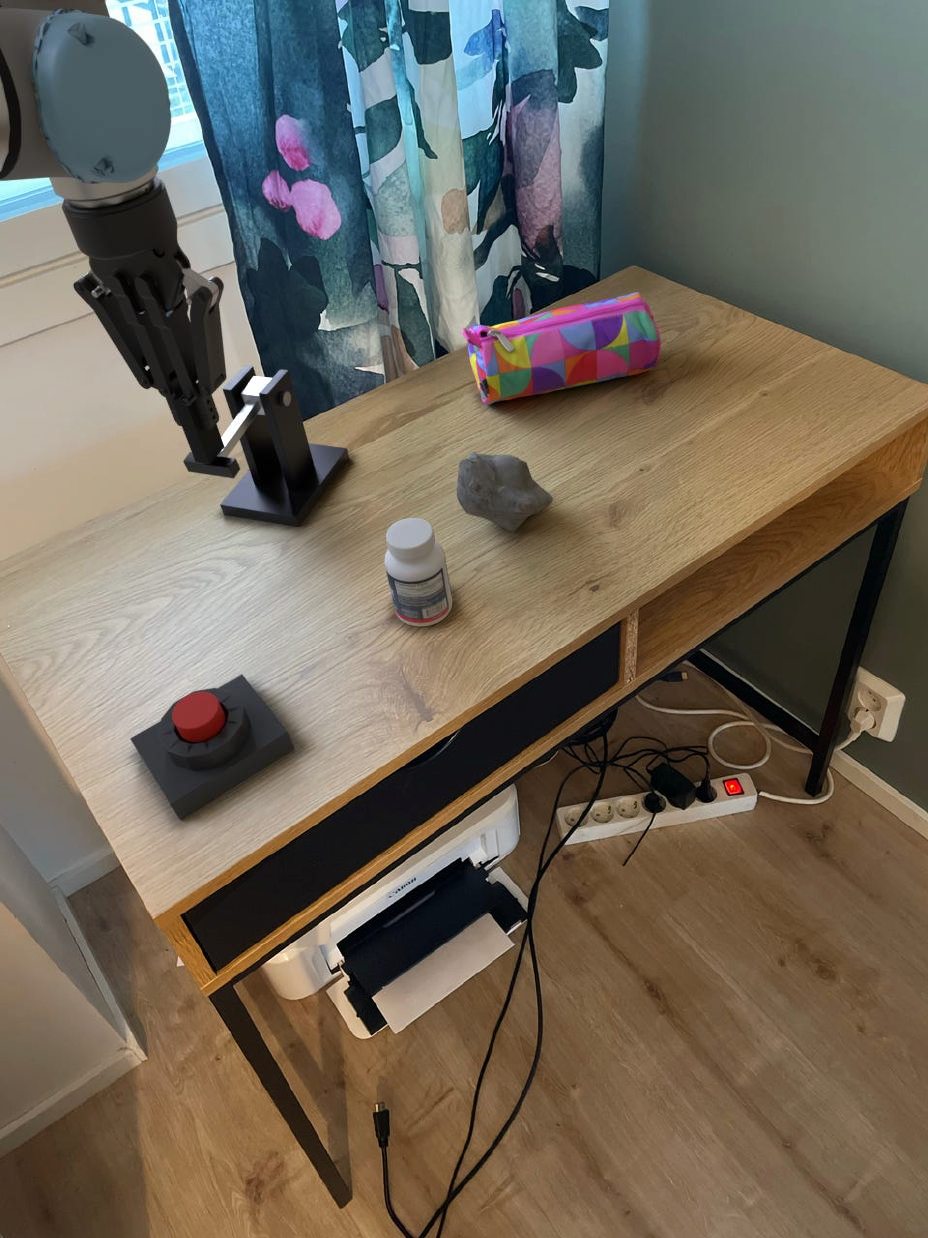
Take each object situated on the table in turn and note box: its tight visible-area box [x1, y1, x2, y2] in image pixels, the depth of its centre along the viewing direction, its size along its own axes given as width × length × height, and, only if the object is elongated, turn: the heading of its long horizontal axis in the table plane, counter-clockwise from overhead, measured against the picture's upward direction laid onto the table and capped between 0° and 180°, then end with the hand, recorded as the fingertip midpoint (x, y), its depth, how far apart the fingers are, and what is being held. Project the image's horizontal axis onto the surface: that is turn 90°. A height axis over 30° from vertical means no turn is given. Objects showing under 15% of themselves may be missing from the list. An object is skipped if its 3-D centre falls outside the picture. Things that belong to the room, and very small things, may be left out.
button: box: [172, 692, 225, 742], centre depth 68 cm, size 4×4×2 cm
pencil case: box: [461, 291, 662, 405], centre depth 101 cm, size 22×9×9 cm, turn 103°
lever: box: [182, 375, 273, 479], centre depth 85 cm, size 12×5×2 cm, turn 160°
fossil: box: [456, 451, 554, 532], centre depth 85 cm, size 11×9×8 cm
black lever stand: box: [219, 365, 350, 528], centre depth 91 cm, size 12×9×13 cm
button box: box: [129, 673, 296, 821], centre depth 70 cm, size 10×8×4 cm
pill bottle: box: [384, 517, 453, 627], centre depth 77 cm, size 5×5×9 cm
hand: (210, 454), depth 82 cm, fingers closed
